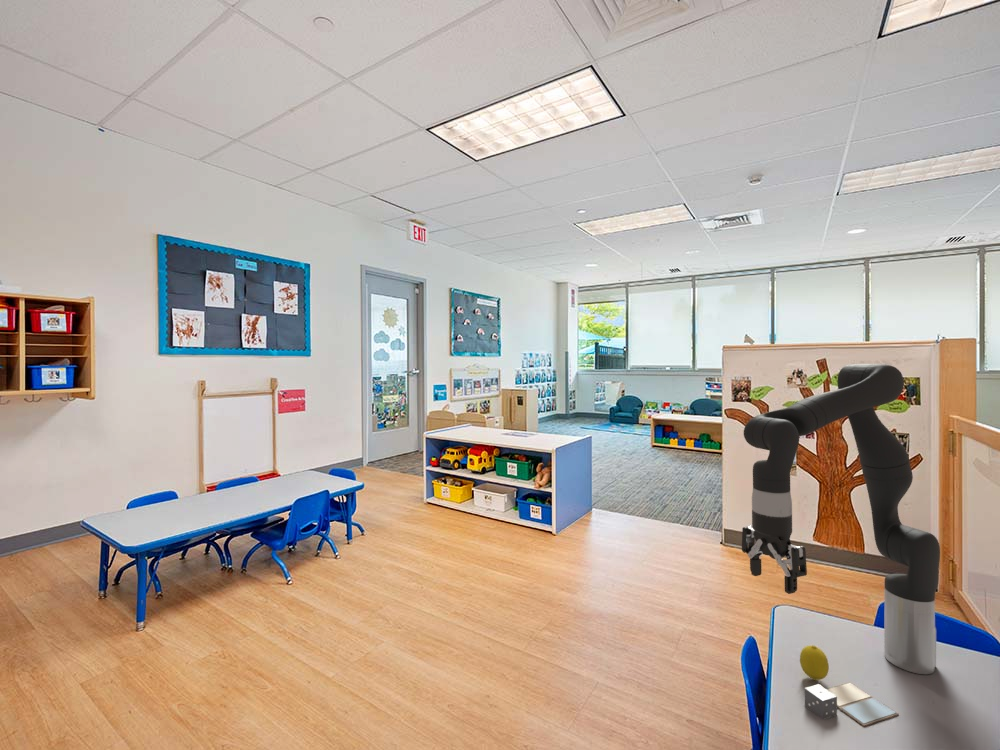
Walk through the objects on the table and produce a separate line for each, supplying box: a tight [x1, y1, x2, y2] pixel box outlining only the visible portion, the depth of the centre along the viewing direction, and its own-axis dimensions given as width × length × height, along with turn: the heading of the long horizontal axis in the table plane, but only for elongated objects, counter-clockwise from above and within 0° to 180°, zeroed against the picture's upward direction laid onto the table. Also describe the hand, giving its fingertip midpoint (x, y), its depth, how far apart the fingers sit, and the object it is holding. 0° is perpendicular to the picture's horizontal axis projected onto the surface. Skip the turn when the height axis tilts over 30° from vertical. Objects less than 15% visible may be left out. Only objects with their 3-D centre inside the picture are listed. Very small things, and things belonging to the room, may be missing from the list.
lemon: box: [799, 644, 830, 681], centre depth 107 cm, size 6×6×8 cm
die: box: [804, 683, 838, 720], centre depth 98 cm, size 4×4×4 cm
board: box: [826, 681, 899, 727], centre depth 99 cm, size 10×10×1 cm
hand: (772, 583), depth 100 cm, fingers open, 8 cm apart
